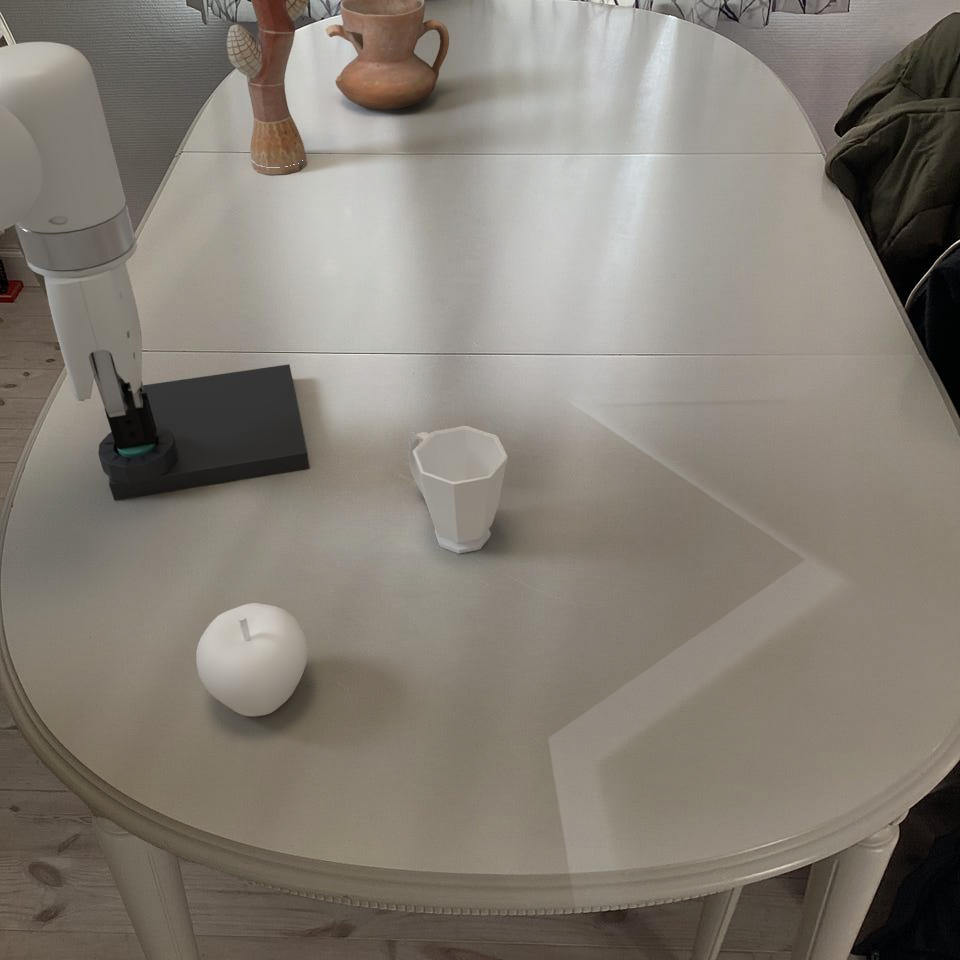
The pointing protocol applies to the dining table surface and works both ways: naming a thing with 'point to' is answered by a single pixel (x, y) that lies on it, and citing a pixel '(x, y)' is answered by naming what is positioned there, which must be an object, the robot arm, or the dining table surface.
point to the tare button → (136, 450)
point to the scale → (213, 433)
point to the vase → (270, 84)
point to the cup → (459, 483)
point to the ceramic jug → (387, 52)
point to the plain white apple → (252, 658)
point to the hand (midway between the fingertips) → (137, 440)
